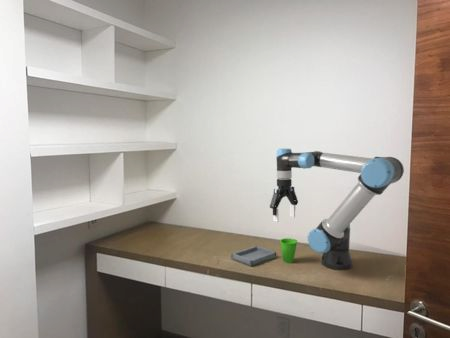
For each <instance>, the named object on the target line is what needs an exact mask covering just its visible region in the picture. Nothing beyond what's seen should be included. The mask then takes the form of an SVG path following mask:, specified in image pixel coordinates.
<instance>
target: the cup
mask: <svg viewBox="0 0 450 338" xmlns="http://www.w3.org/2000/svg"><path fill="white" fill-rule="evenodd" d="M279 243H280V247H281V248H280V249H281V254H282V255H281V256H282V261H283V263H286V264H293V262H294V260H295V256H296V255H295V254H296V249H297V243H298V240H296V239H294V238H289V237H287V238H281V239H280V240H279Z"/></svg>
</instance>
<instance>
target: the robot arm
mask: <svg viewBox="0 0 450 338" xmlns="http://www.w3.org/2000/svg"><path fill="white" fill-rule="evenodd" d="M275 158H276V178H277V179H276V186H277V189H276V188H274V189H273V194H272V197H271V200H270V203H269V209H272V216H273V217H272V220H273V222H276V223H278V222H279V205H280V203H281V202H282V200H283V198H285V197H286V198H287V199H288V201H289V203H290V204H289V217H290V218H296V206H297V205H298V203H299V200H298V197H297V194H296V192H295V186H292V185H293V183H292V182H293V181H292V177H293V174H292V173H293V172H292V168H295V169H304V170H305V169H312V167H316V168H324V169H332V170H337V171H338V170H339V171H346V172H351V173H357V174H359V176H358V177H357V180H358V182H357V183H356V185H355V186H354V187H353V188H352V189H351V190H350V192H349V193H348V195H347V196H346V197H345V198H344V199H343V200H342V202H341V203H340V204H339V205H338V206H337V208H336V209H335V210H334V211H333V212H332V213H331V215H330V216H329V217H328V218H323V220H321V222H319V224H318V225H317V226H316V228H312V230H310V231H309V232H308V233H307V234H308V235H307V242H308V245H309V247H310V248H311V249H312V250H313V251H314V252H315V253H318V254H322V255H321V260H320V263H321V265H322V266H324V267H325V268H327V269H331V270H338V271H339V270H340V271H344V270H350V269H352V268H353V259H352V256H351V253H350V241H351V240H350V236H351V223H352V222H353V221H354V220H355V218H357V216H359V215H360V213H361V212H362V211H363V210H364V208H366V207H367V205H368V204H369V203H370V202H371V201H372V199H373V198H374V197H375V196H380V195H382V194H383V193H384V192H385V190H387V188H388V187H390V185H392V184H394V183H397V182H399V181H400V180H401V179H402V177H403V175H404V171H405V168H404V165H403V163H402V161H400V160H399V159H397V157H393V156H374V157H365V156H364V157H363V156H354V155H347V154H346V155H345V154H337V153H329V152H322V151H317V150H314V151H309V152H292V149H291V148H278V149H277V150H276V157H275Z"/></svg>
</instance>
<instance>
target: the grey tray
mask: <svg viewBox="0 0 450 338" xmlns="http://www.w3.org/2000/svg"><path fill="white" fill-rule="evenodd" d="M230 254H231V256H230V258H231V260H232V261H235V262H238V263H240V264H243V265H245V266H248V267H251V268H252V267H255V266H257V265H260V264H263V263H265V262H268V261H271V260H274V259H277V252H276V251H275V250H274V251H273V250H271V249H268V248H265V247H262V246H258V245H255V246H251V247H248V248H244V249H242V250H239V251H236V252H233V253H230Z"/></svg>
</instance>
